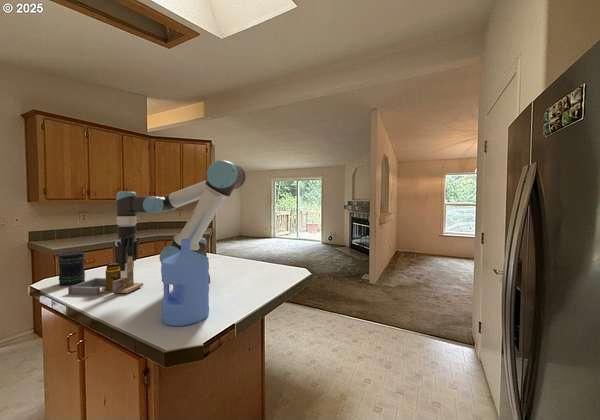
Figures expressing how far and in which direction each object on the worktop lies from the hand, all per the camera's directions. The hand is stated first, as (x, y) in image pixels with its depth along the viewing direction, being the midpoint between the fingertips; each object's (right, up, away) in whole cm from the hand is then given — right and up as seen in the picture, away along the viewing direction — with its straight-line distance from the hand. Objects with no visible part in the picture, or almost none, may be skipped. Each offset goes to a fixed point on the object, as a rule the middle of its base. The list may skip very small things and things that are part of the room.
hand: (127, 276), depth 119 cm
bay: (-15, -6, +1) cm, 16 cm away
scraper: (0, -6, 0) cm, 6 cm away
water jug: (+38, -8, -26) cm, 47 cm away
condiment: (-8, -7, +2) cm, 11 cm away
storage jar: (-34, -6, +10) cm, 36 cm away
